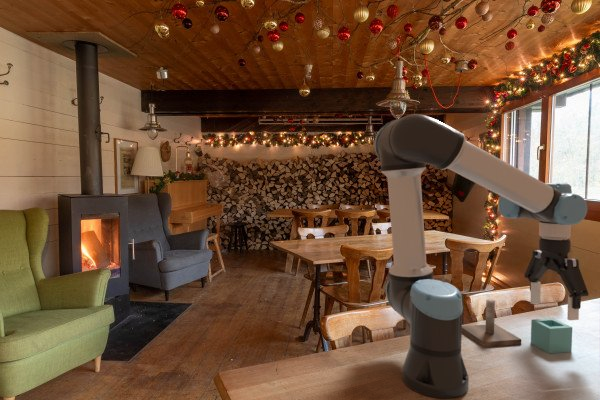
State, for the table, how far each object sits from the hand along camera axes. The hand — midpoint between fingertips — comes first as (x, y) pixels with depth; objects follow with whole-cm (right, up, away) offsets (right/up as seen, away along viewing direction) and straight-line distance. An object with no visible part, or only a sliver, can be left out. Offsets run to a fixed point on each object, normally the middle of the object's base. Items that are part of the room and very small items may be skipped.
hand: (553, 311), depth 112 cm
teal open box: (0, -11, +1) cm, 11 cm away
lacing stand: (-15, -10, +7) cm, 19 cm away
